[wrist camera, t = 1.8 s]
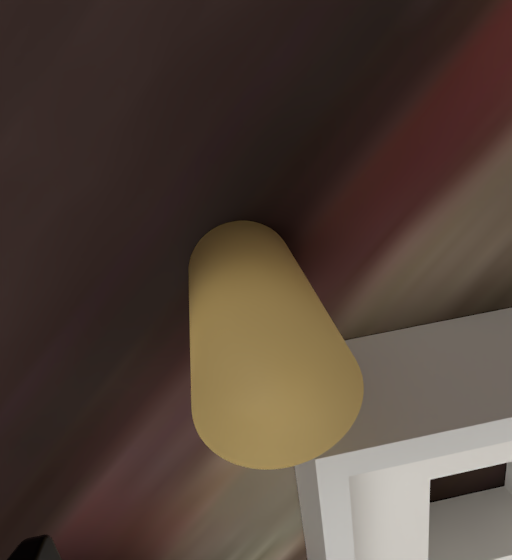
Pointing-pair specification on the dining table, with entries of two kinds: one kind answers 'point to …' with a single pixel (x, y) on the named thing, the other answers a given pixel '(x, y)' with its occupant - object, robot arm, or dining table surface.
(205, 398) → the peg
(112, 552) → the dining table surface
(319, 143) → the dining table surface
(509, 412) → the socket box
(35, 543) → the robot arm
